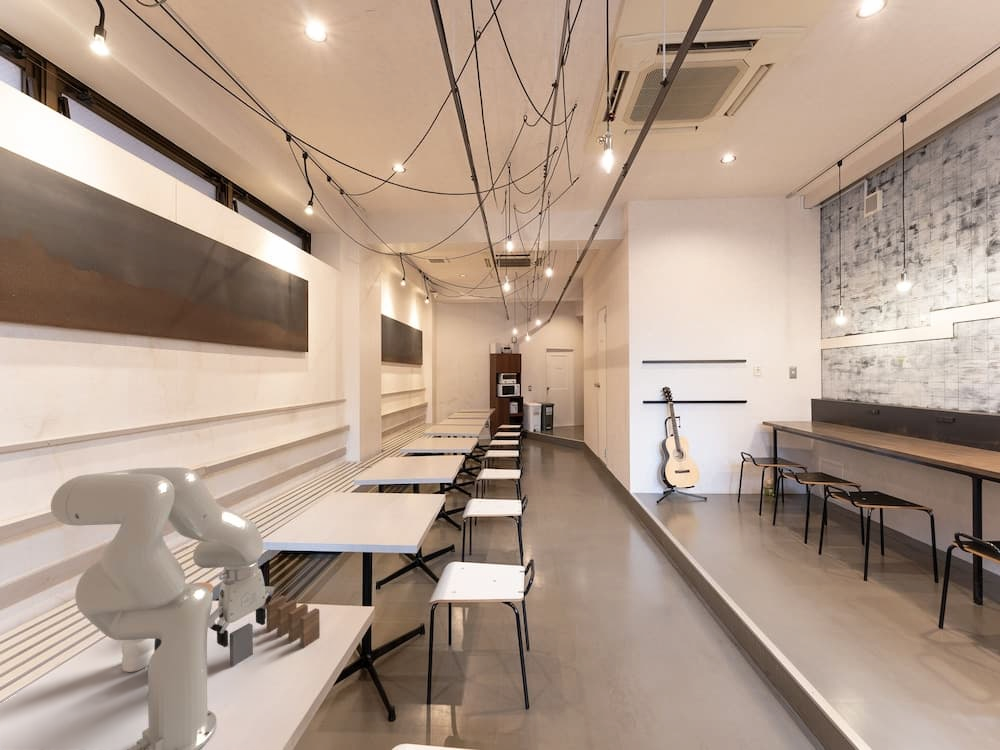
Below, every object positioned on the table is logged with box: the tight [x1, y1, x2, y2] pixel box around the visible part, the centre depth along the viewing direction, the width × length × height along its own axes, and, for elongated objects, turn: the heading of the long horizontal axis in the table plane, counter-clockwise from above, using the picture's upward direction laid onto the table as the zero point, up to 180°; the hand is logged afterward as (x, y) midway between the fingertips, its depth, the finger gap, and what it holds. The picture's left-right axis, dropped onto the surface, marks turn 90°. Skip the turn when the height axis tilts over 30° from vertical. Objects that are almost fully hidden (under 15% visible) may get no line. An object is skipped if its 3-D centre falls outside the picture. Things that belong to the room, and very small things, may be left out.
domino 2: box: [265, 595, 287, 633], centre depth 121 cm, size 2×5×8 cm, turn 152°
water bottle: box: [121, 639, 155, 673], centre depth 106 cm, size 7×7×25 cm
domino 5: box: [299, 608, 321, 649], centre depth 114 cm, size 2×5×8 cm, turn 152°
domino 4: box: [287, 603, 309, 643], centre depth 116 cm, size 2×5×8 cm, turn 152°
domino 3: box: [276, 599, 298, 638], centre depth 119 cm, size 2×5×8 cm, turn 152°
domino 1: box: [229, 622, 254, 667], centre depth 107 cm, size 2×5×8 cm, turn 152°
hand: (242, 633), depth 108 cm, fingers open, 9 cm apart
